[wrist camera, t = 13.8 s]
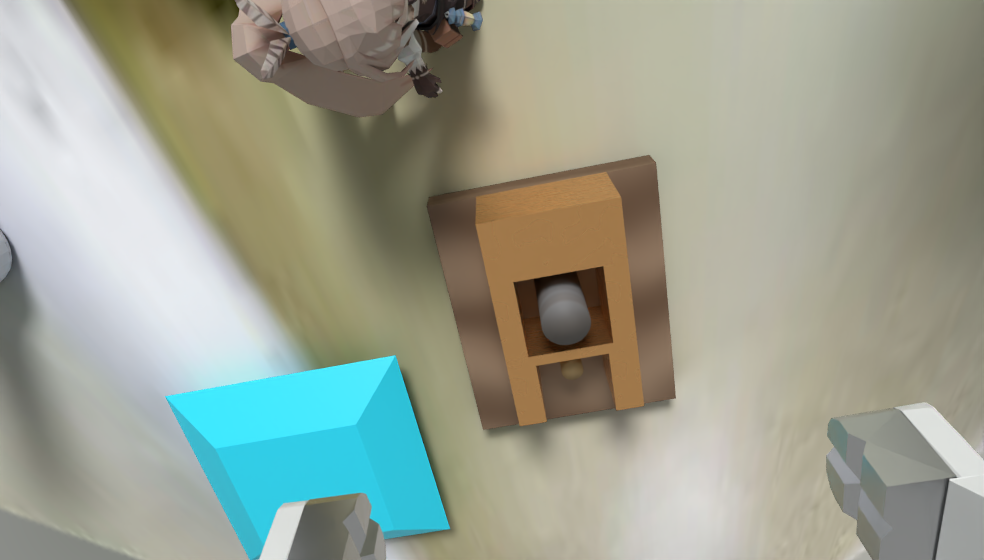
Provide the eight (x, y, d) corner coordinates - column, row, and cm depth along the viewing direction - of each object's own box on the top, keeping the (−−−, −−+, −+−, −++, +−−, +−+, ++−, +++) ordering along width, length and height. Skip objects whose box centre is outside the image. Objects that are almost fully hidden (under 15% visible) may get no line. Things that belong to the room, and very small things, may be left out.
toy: (531, 47, 31) (420, 163, 19) (385, 100, 35) (213, 226, 23) (459, -162, 27) (264, -185, 15) (304, -79, 31) (45, -44, 19)
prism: (184, 372, 41) (148, 416, 37) (401, 334, 40) (389, 375, 35) (260, 536, 47) (237, 591, 42) (452, 507, 45) (447, 560, 41)
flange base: (428, 197, 35) (418, 243, 29) (649, 155, 34) (683, 194, 28) (483, 414, 42) (483, 488, 36) (669, 383, 41) (700, 454, 35)
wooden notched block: (476, 196, 34) (475, 224, 30) (606, 171, 33) (621, 197, 30) (516, 383, 39) (519, 426, 35) (628, 364, 38) (644, 405, 35)
